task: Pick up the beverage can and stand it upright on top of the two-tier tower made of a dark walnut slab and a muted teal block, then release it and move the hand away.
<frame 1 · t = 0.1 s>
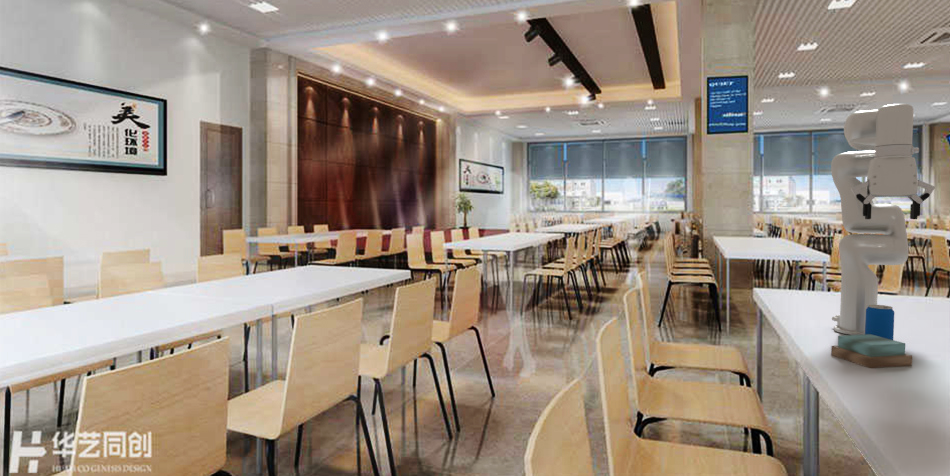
hand: (890, 219, 138), 37 cm above the table, tool pointing down, fingers open, 9 cm apart
beverage can: (878, 348, 151), on the table
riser: (870, 360, 139), on the table
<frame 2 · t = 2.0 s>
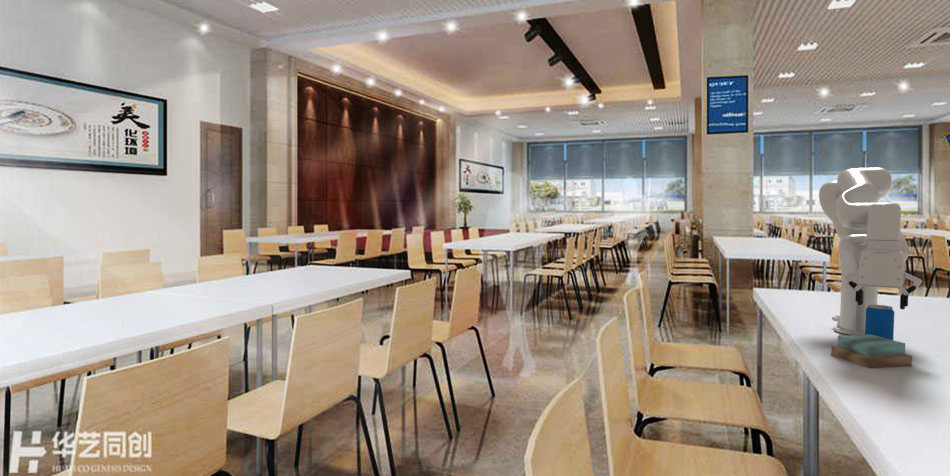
hand: (880, 306, 149), 12 cm above the table, tool pointing down, fingers open, 9 cm apart
nothing on the table moved.
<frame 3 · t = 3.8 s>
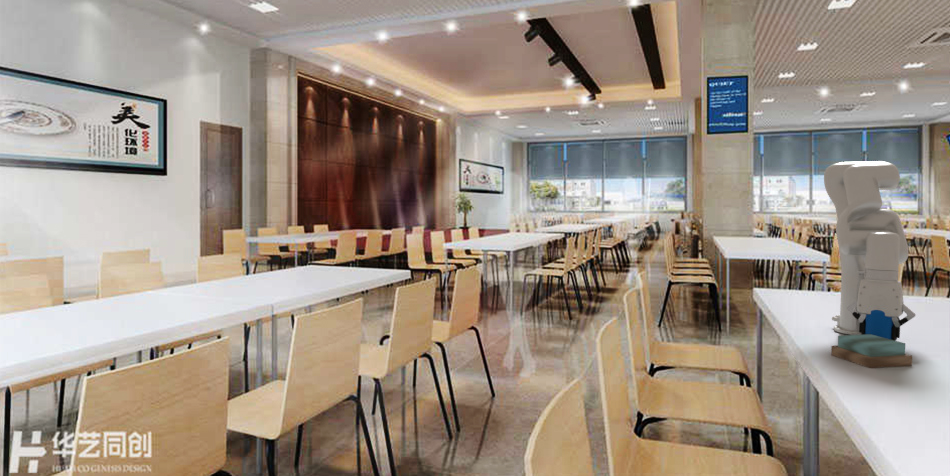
hand: (878, 337, 151), 3 cm above the table, tool pointing down, fingers closed on beverage can, 6 cm apart
beverage can: (878, 348, 151), on the table, touching gripper
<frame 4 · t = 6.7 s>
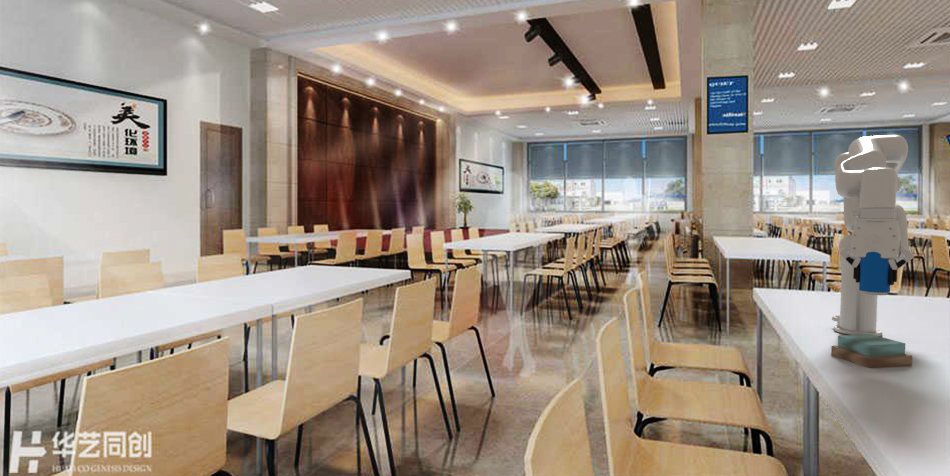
hand: (874, 282, 139), 20 cm above the table, tool pointing down, fingers closed on beverage can, 6 cm apart
beverage can: (874, 294, 139), point 17 cm above the table, touching gripper
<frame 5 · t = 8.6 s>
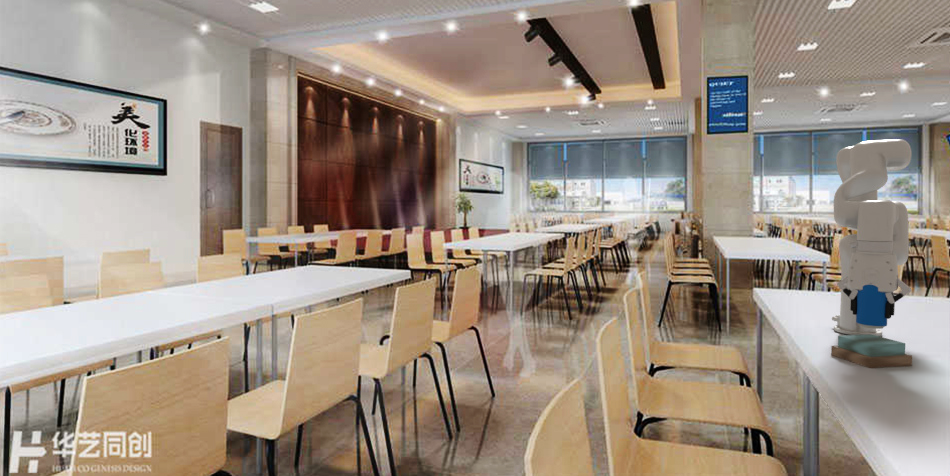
hand: (871, 315, 138), 12 cm above the table, tool pointing down, fingers closed on beverage can, 6 cm apart
beverage can: (871, 327, 138), point 9 cm above the table, touching gripper
when the fingers open (10 cm above the table, at t = 9.9 s): beverage can drops 2 cm, resting on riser.
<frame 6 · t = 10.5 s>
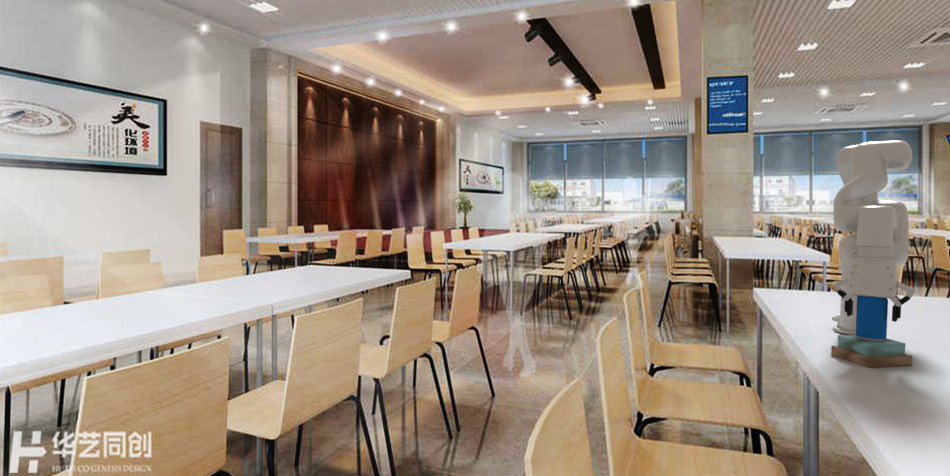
hand: (871, 318, 138), 11 cm above the table, tool pointing down, fingers open, 9 cm apart
beverage can: (870, 339, 139), point 5 cm above the table, touching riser
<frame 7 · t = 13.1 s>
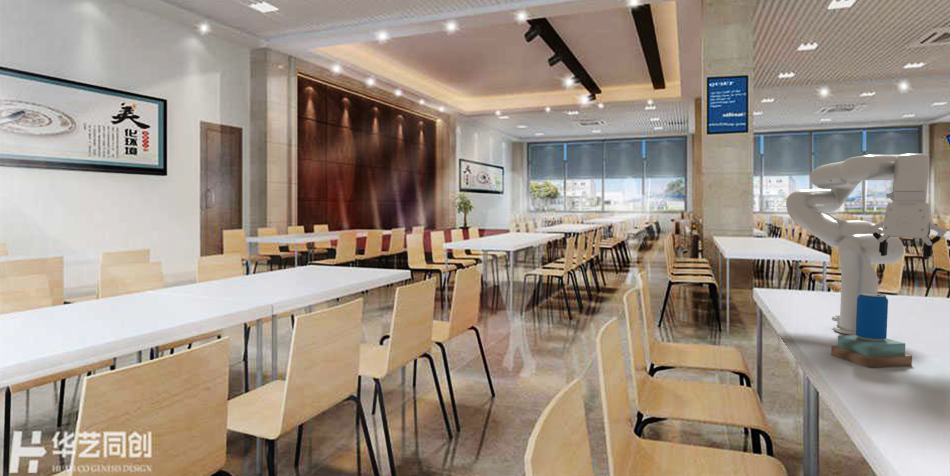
hand: (904, 257, 152), 26 cm above the table, tool pointing down, fingers open, 9 cm apart
nothing on the table moved.
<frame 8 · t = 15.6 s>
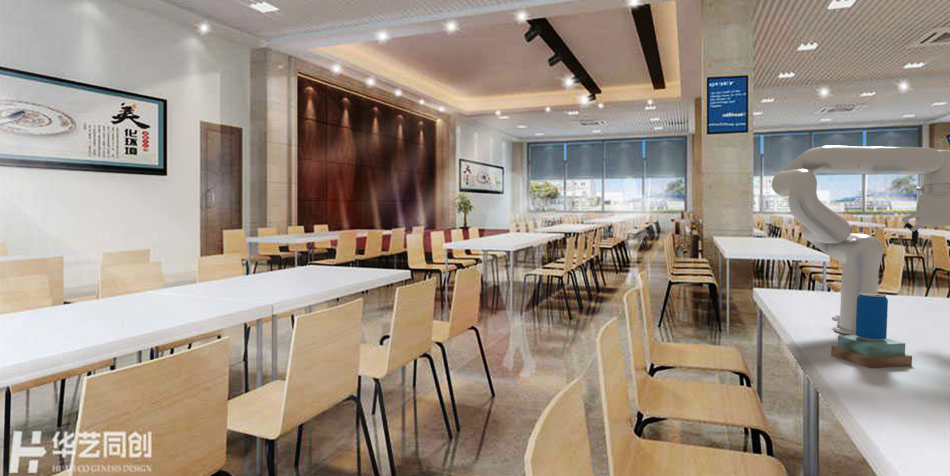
hand: (935, 244, 166), 28 cm above the table, tool pointing down, fingers open, 9 cm apart
nothing on the table moved.
at the end: beverage can 0.3 cm off-centre on the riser, point 5.3 cm above the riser's base; beverage can tilted 0°; the gripper is holding nothing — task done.
